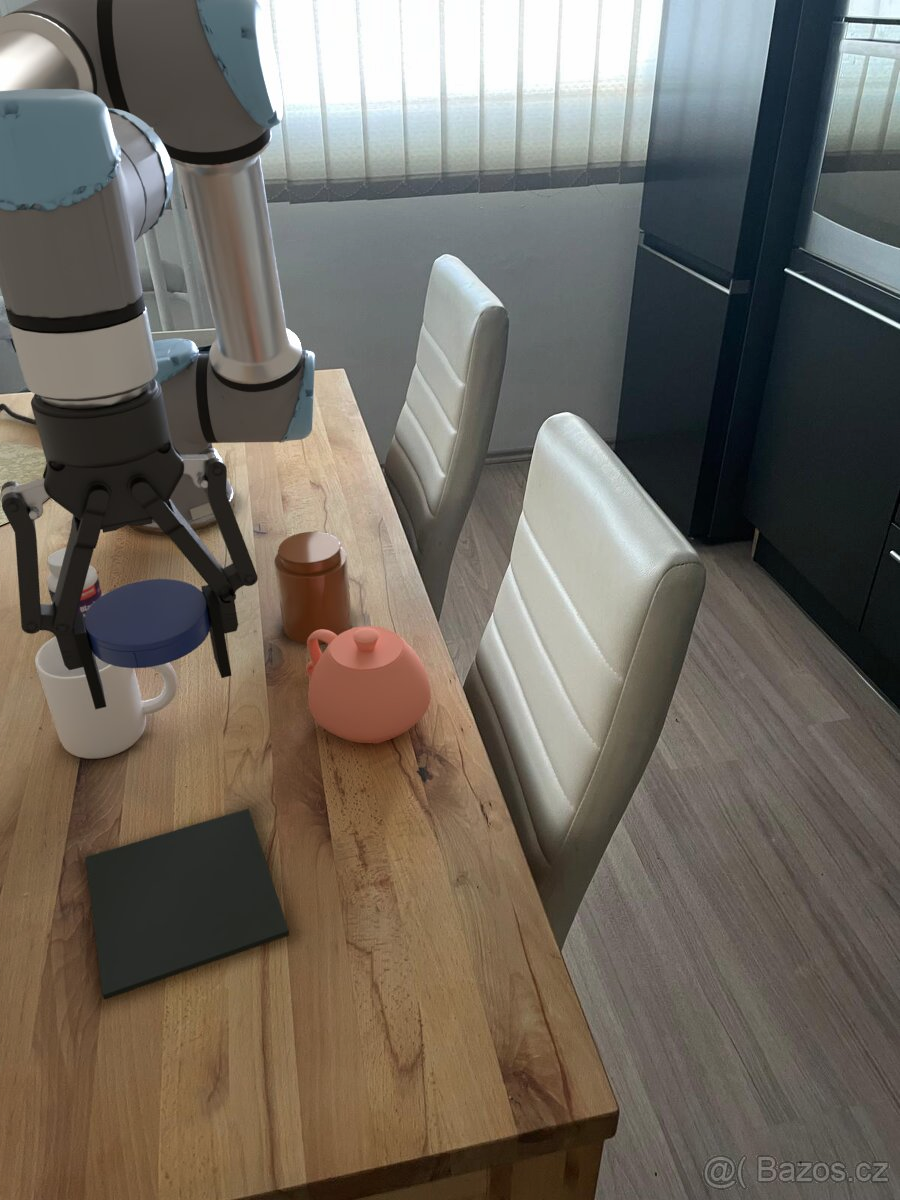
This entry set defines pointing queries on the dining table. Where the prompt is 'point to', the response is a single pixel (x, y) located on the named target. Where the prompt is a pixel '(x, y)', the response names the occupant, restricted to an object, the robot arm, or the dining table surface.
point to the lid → (147, 623)
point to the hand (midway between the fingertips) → (162, 681)
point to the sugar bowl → (366, 684)
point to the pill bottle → (90, 587)
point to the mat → (181, 902)
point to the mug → (76, 711)
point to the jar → (313, 585)
